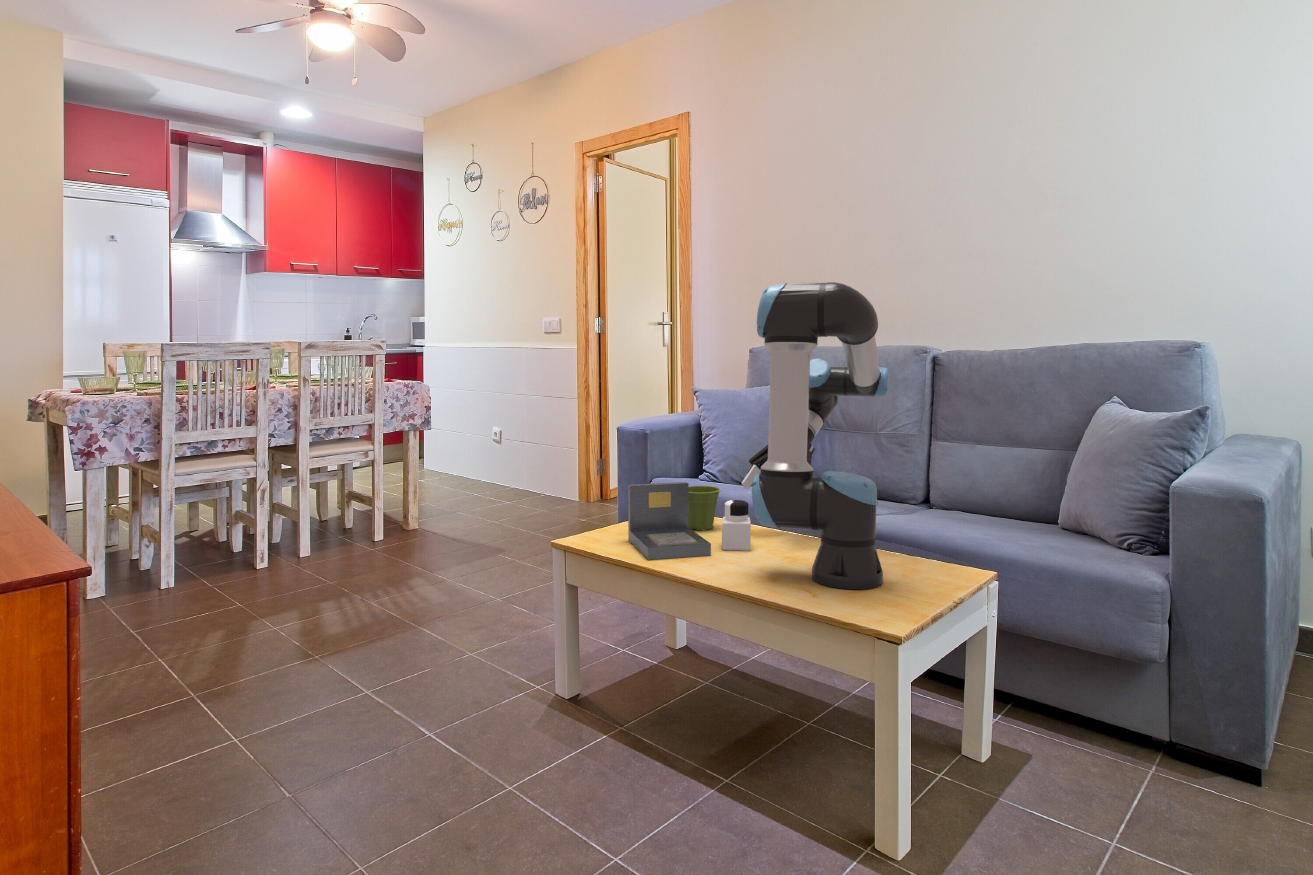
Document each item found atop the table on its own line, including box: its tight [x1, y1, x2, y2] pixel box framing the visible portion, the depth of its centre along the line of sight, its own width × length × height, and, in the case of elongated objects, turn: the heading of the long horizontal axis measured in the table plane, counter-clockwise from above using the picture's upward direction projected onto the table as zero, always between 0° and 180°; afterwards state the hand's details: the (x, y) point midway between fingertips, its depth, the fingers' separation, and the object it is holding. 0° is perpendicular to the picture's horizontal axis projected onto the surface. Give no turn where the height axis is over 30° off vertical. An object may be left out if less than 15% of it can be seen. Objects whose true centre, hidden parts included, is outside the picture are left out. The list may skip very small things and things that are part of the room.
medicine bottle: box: [721, 499, 752, 552], centre depth 196 cm, size 7×7×12 cm
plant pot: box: [688, 485, 722, 531], centre depth 218 cm, size 12×12×11 cm
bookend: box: [627, 481, 712, 560], centre depth 195 cm, size 20×16×15 cm
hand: (762, 490), depth 201 cm, fingers open, 13 cm apart
